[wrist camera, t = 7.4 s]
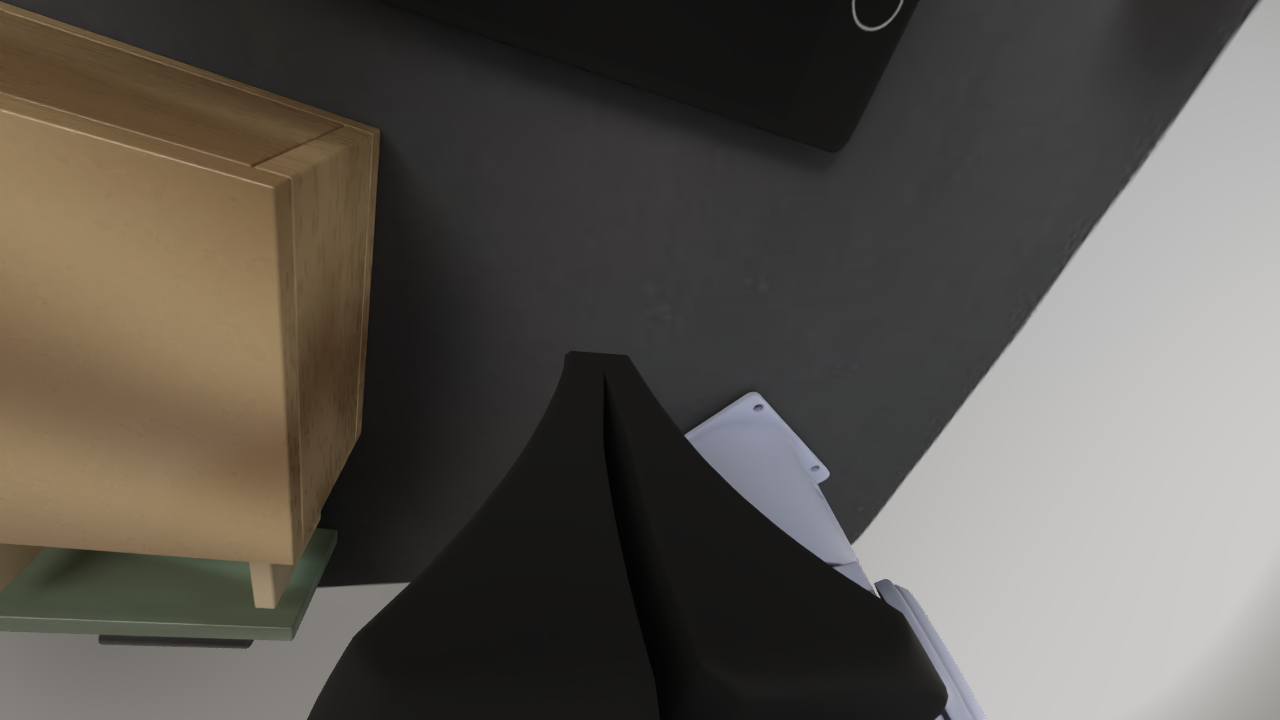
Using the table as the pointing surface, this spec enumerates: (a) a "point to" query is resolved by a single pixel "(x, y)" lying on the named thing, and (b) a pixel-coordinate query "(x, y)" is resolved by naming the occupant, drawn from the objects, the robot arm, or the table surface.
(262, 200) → the cabinet
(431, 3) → the cell phone
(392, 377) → the table surface
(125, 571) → the drawer
